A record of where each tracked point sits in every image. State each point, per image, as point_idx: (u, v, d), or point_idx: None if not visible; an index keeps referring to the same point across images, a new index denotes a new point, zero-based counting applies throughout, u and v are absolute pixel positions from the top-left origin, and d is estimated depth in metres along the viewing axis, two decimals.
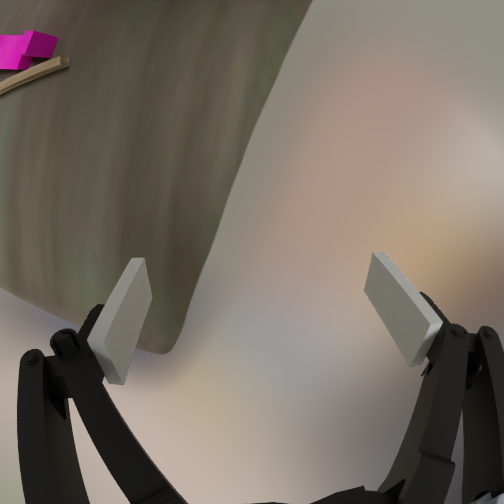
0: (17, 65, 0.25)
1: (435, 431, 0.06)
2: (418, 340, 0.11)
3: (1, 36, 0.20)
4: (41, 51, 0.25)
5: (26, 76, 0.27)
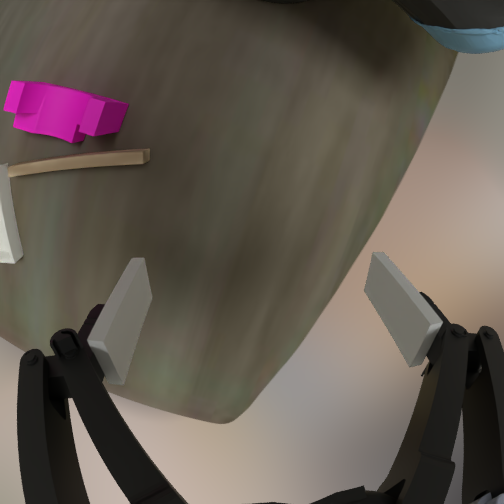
0: (71, 137, 0.27)
1: (435, 431, 0.06)
2: (418, 340, 0.11)
3: (41, 86, 0.22)
4: (111, 126, 0.27)
5: (88, 165, 0.29)
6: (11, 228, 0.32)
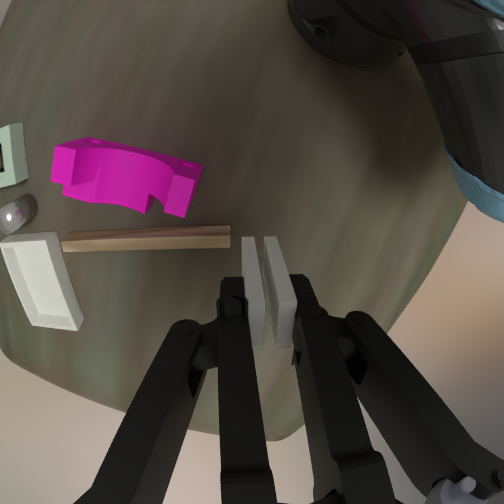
0: (142, 207, 0.29)
1: (339, 430, 0.06)
2: (277, 319, 0.12)
3: (95, 150, 0.25)
4: (192, 197, 0.29)
5: (167, 247, 0.32)
6: (70, 297, 0.36)
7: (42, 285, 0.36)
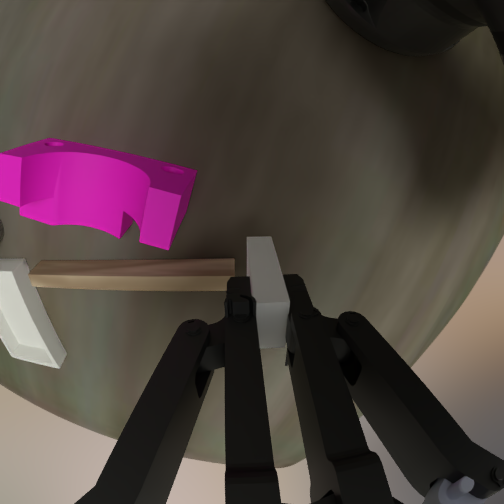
0: (116, 229, 0.21)
1: (334, 431, 0.06)
2: None
3: (50, 156, 0.16)
4: (182, 215, 0.21)
5: (152, 288, 0.24)
6: (47, 333, 0.29)
7: (18, 316, 0.29)
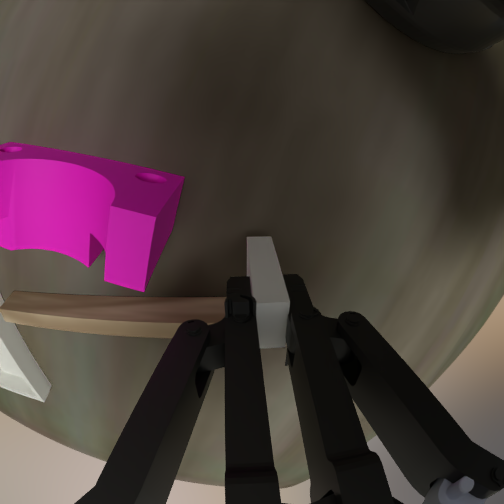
0: (84, 255, 0.16)
1: (334, 431, 0.06)
2: None
3: (1, 165, 0.11)
4: (164, 239, 0.16)
5: (136, 334, 0.19)
6: (28, 366, 0.23)
7: None
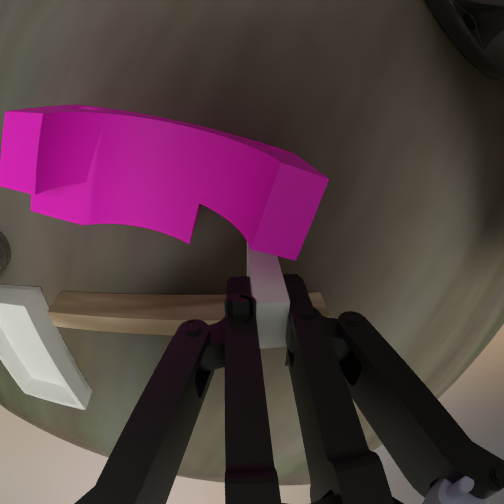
0: (185, 230, 0.16)
1: (334, 431, 0.06)
2: None
3: (86, 117, 0.11)
4: None
5: None
6: (71, 372, 0.24)
7: (31, 350, 0.24)
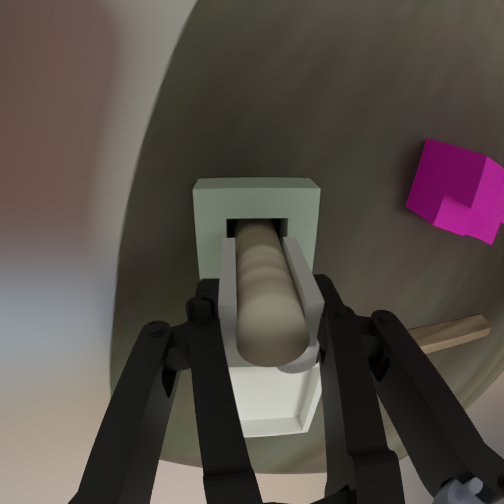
0: (490, 237, 0.20)
1: (357, 427, 0.06)
2: None
3: None
4: None
5: (455, 344, 0.27)
6: None
7: (263, 396, 0.31)
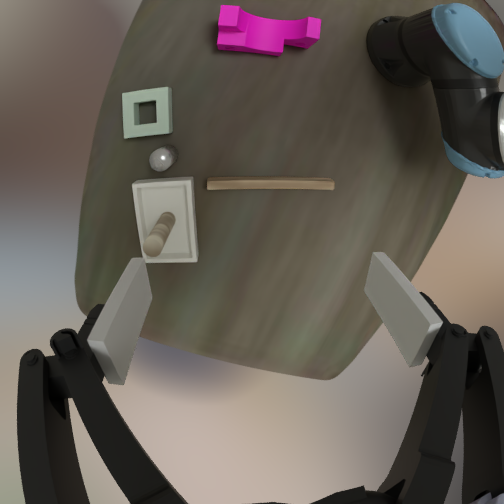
0: (280, 48, 0.37)
1: (435, 431, 0.06)
2: (418, 340, 0.11)
3: (245, 13, 0.32)
4: None
5: (294, 187, 0.48)
6: (195, 232, 0.52)
7: None
